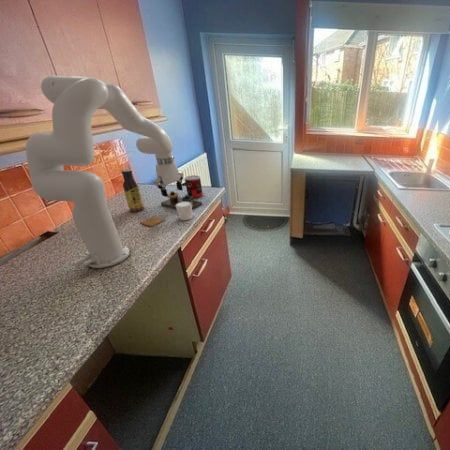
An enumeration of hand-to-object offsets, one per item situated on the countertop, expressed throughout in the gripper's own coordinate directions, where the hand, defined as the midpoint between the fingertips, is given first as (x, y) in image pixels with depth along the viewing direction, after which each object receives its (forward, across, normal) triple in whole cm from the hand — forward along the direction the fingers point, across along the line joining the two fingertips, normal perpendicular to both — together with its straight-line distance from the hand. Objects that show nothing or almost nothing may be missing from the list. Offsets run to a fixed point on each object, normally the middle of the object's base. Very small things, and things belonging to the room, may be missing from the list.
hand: (172, 193), depth 130 cm
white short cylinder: (+6, +10, +18) cm, 22 cm away
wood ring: (+2, 0, +10) cm, 10 cm away
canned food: (+6, -13, +2) cm, 14 cm away
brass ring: (+2, 0, 0) cm, 2 cm away
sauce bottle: (+6, +14, -10) cm, 18 cm away
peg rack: (+6, 0, +5) cm, 8 cm away
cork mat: (+5, +20, +8) cm, 23 cm away
